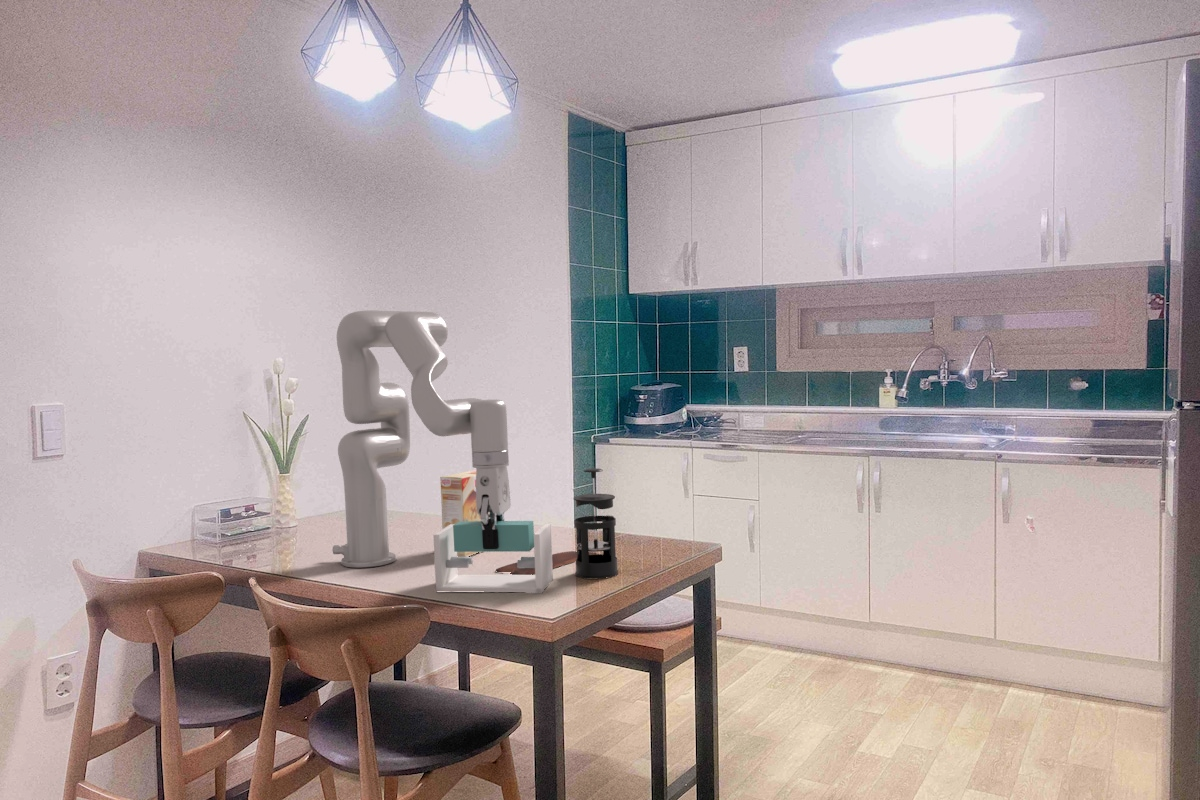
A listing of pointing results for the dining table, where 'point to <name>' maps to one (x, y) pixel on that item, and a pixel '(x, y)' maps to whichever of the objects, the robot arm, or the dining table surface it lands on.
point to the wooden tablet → (557, 561)
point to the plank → (509, 536)
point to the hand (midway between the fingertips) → (494, 545)
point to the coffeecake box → (459, 500)
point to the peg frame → (452, 581)
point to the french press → (595, 563)
